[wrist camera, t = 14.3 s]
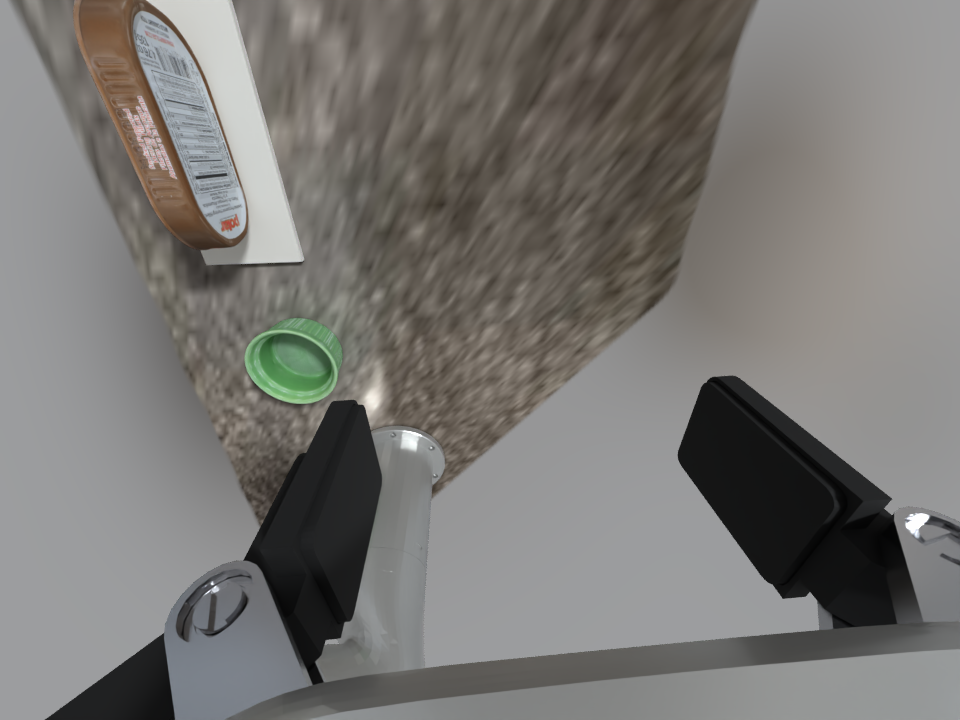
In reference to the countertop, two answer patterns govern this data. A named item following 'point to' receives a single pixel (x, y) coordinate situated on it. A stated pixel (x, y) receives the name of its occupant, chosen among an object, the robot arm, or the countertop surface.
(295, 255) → the mat
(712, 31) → the countertop surface
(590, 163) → the countertop surface
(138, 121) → the tin
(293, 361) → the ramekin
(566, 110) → the countertop surface
